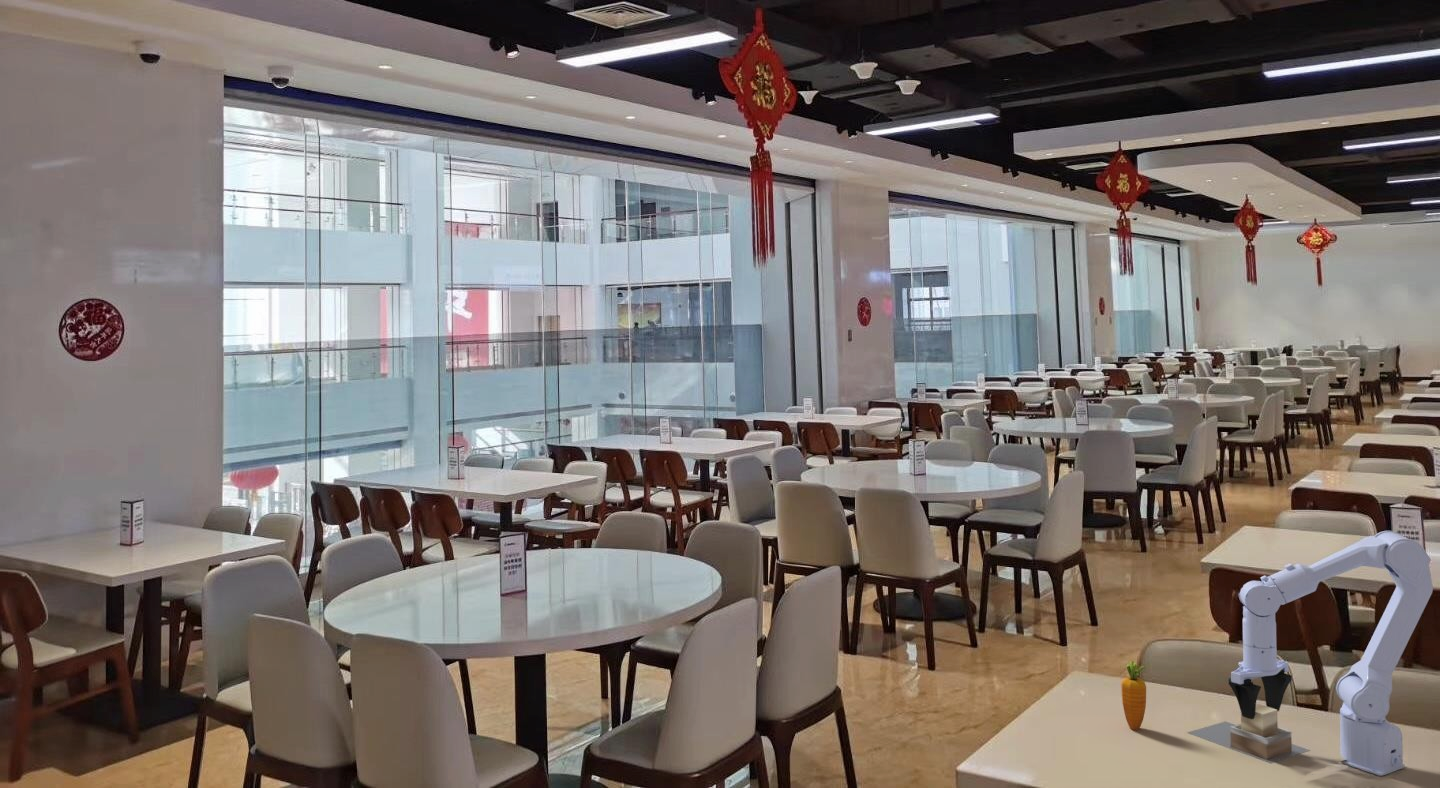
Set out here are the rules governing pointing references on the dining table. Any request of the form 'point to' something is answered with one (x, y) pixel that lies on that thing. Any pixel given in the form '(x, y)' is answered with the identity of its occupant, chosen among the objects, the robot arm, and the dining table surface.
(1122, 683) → the carrot
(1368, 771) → the robot arm
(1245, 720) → the maple block
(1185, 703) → the dining table surface
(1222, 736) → the board
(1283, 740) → the walnut plinth
